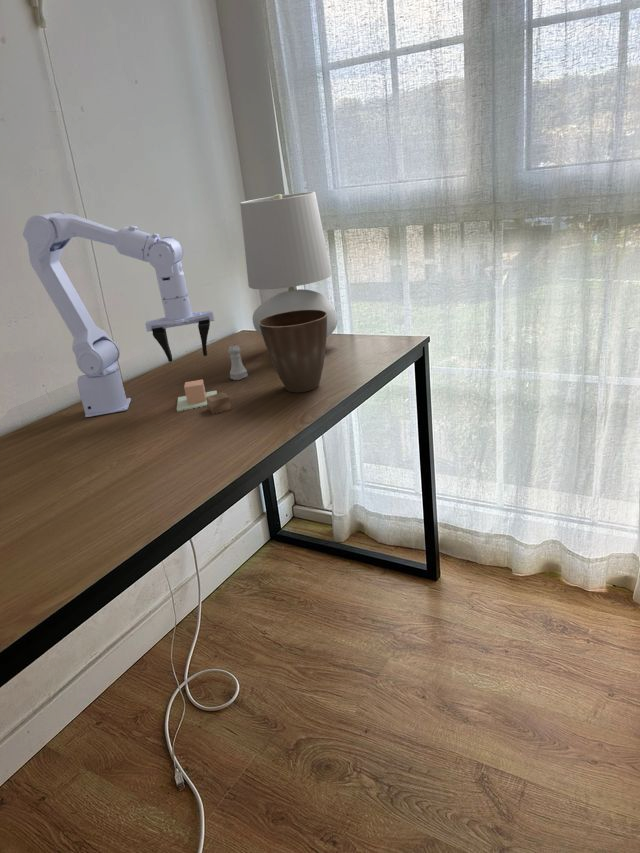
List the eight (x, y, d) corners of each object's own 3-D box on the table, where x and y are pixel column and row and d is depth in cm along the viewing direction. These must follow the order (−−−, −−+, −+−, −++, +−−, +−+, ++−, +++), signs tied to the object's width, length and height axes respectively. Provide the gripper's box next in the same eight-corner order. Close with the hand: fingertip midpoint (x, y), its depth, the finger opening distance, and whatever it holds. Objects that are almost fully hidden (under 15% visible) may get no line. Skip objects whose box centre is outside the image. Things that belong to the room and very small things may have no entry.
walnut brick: (213, 414, 142) (211, 401, 141) (208, 409, 145) (205, 396, 144) (231, 409, 143) (229, 396, 142) (225, 405, 147) (223, 392, 146)
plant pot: (296, 374, 160) (286, 308, 155) (348, 378, 152) (340, 309, 146) (257, 395, 149) (244, 325, 143) (311, 401, 141) (300, 327, 135)
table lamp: (244, 365, 174) (214, 205, 159) (273, 342, 193) (249, 196, 178) (328, 361, 167) (305, 193, 152) (350, 337, 185) (331, 185, 171)
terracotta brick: (187, 404, 149) (184, 387, 147) (188, 398, 153) (185, 382, 151) (205, 401, 149) (202, 384, 148) (206, 395, 153) (202, 379, 151)
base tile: (177, 414, 147) (176, 409, 147) (179, 402, 155) (178, 397, 155) (218, 407, 148) (217, 402, 147) (217, 395, 156) (216, 390, 156)
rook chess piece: (251, 374, 165) (246, 343, 162) (242, 380, 161) (236, 348, 159) (236, 374, 167) (230, 343, 164) (226, 380, 163) (220, 349, 160)
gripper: (138, 305, 138) (153, 368, 143) (208, 294, 139) (220, 356, 144) (142, 299, 145) (156, 359, 150) (208, 288, 146) (220, 348, 151)
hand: (188, 357), depth 148 cm, fingers open, 7 cm apart
